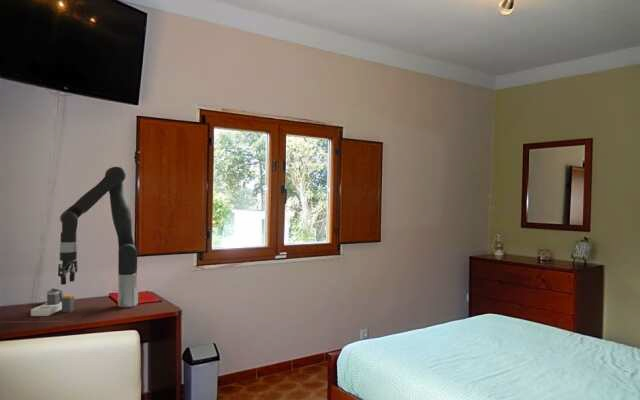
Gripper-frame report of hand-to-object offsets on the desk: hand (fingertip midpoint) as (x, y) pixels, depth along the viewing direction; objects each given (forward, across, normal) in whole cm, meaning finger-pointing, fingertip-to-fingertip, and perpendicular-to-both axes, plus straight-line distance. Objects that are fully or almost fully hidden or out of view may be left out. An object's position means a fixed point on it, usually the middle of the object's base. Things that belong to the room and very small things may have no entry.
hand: (67, 282), depth 227 cm
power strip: (+15, -1, +9) cm, 18 cm away
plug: (+15, 0, 0) cm, 15 cm away
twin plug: (+14, +4, +9) cm, 17 cm away
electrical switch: (+15, +17, +14) cm, 27 cm away
